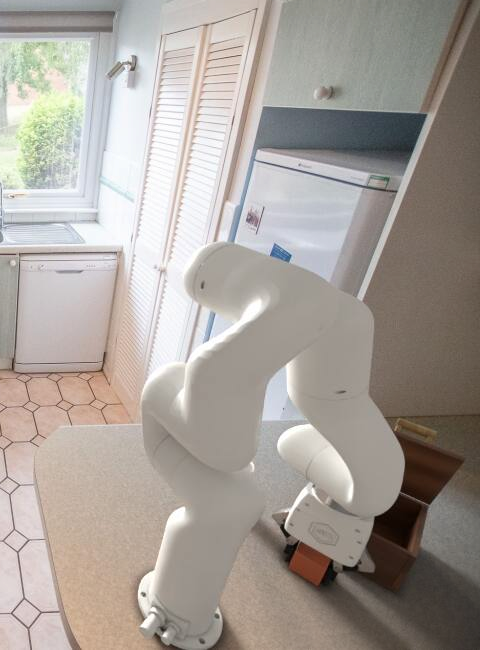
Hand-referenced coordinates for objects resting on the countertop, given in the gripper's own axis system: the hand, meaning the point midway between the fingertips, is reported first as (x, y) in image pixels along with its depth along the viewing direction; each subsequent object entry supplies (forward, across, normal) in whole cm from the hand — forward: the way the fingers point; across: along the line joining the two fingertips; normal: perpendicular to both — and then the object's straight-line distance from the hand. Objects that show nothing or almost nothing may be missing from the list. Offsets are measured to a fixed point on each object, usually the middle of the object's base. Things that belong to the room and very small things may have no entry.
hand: (307, 567), depth 80 cm
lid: (-16, +5, +18) cm, 25 cm away
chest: (0, +5, +14) cm, 15 cm away
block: (0, 0, 0) cm, 0 cm away
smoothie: (+1, -16, +6) cm, 17 cm away
